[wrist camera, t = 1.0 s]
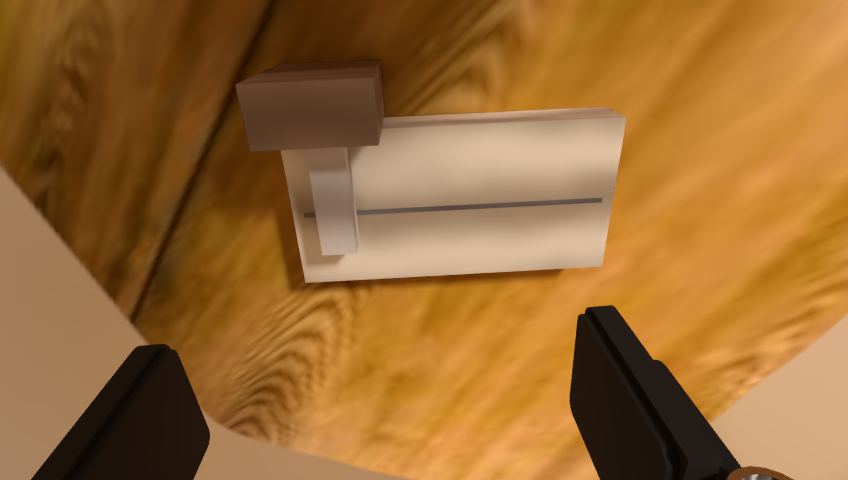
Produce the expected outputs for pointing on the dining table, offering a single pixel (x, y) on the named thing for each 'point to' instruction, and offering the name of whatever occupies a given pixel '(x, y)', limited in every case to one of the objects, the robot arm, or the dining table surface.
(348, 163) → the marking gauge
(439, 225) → the birch plank
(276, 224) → the dining table surface
